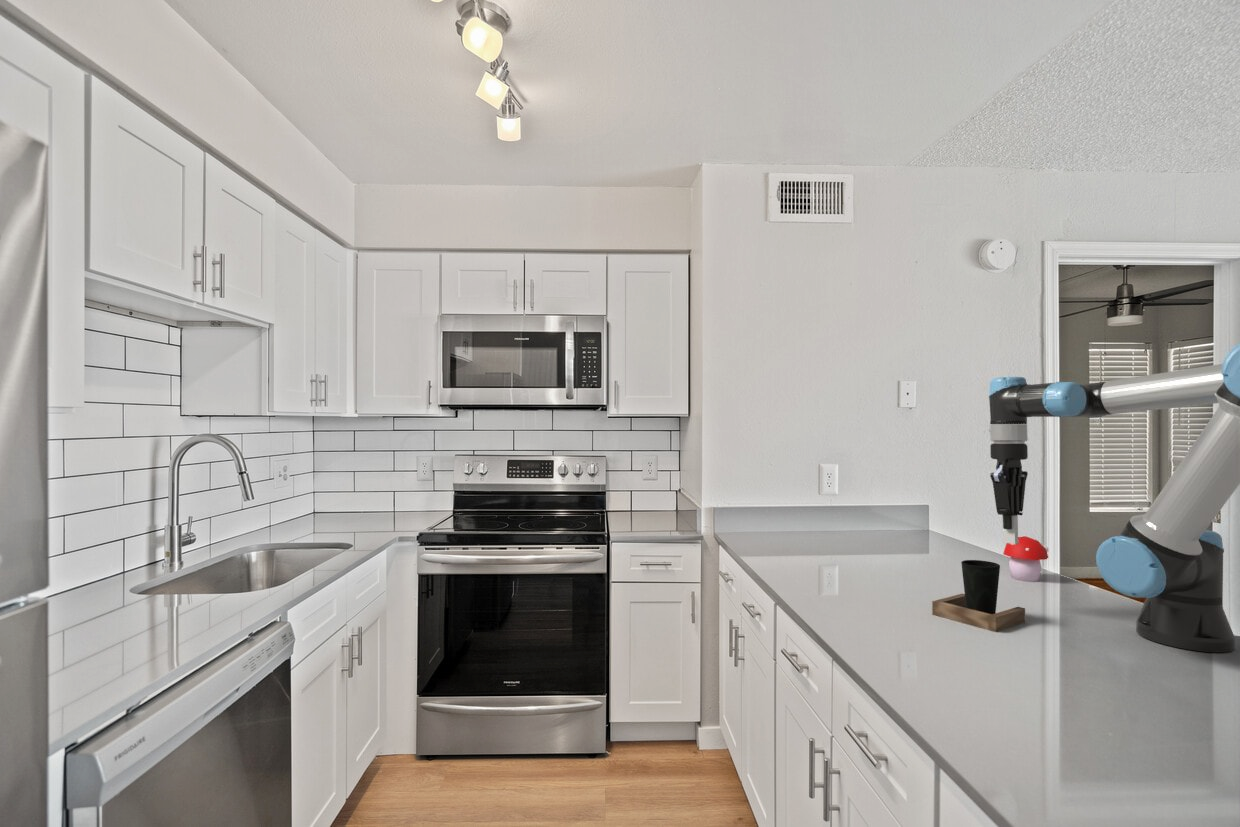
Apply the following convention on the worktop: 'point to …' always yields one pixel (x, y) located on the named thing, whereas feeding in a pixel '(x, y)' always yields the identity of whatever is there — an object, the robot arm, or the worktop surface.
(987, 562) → the cup
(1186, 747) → the worktop surface
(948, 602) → the wooden u-shaped bracket
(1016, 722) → the worktop surface
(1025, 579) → the mushroom
